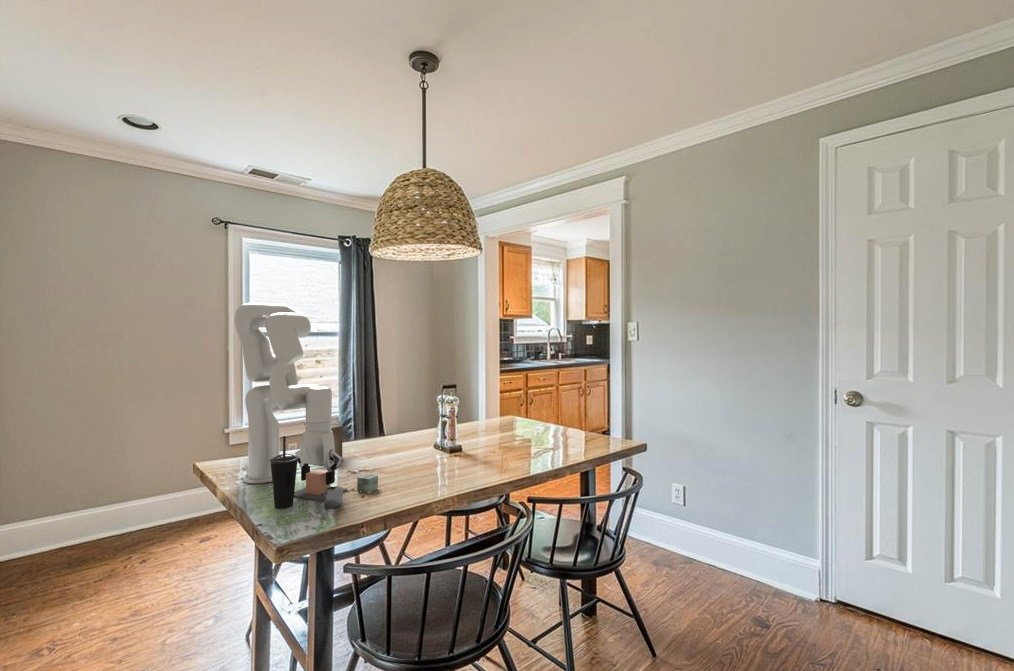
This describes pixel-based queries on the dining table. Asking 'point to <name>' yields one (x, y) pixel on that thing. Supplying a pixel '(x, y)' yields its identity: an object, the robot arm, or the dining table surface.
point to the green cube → (367, 483)
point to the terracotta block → (316, 482)
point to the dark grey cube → (333, 497)
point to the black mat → (310, 495)
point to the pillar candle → (337, 438)
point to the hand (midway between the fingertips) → (317, 481)
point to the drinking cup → (283, 478)
